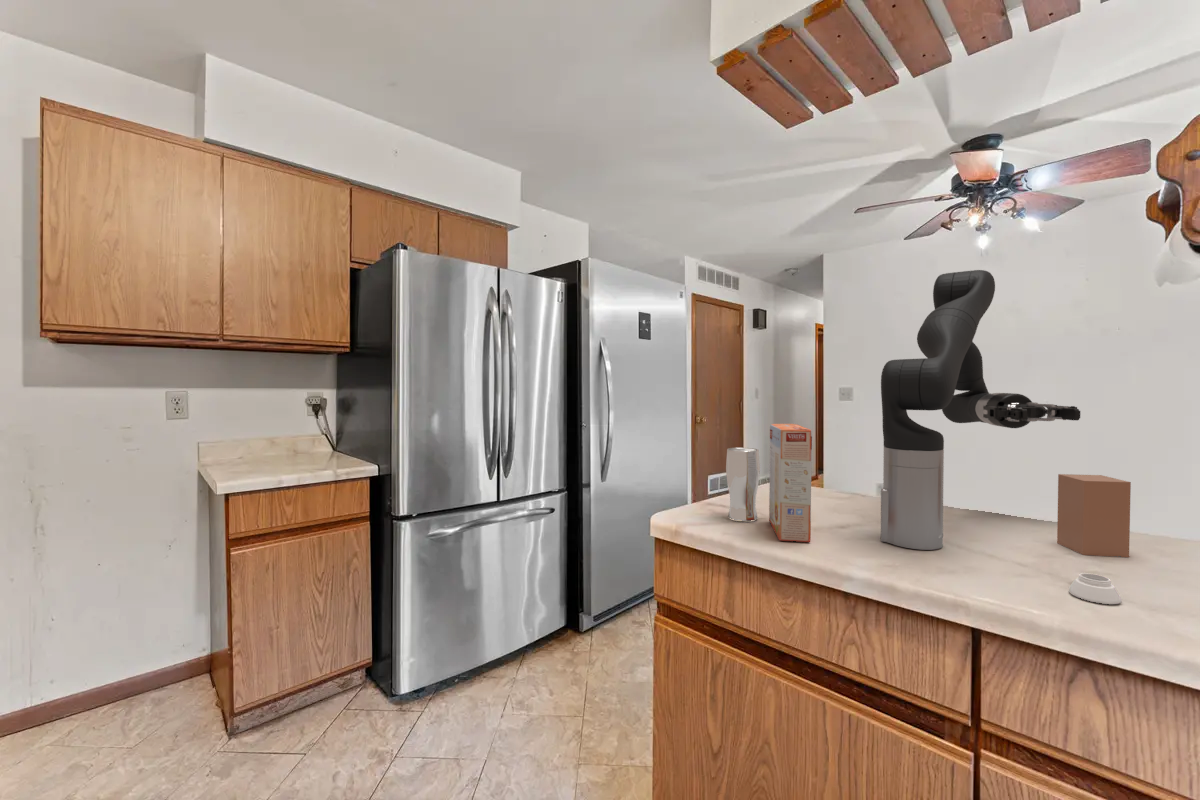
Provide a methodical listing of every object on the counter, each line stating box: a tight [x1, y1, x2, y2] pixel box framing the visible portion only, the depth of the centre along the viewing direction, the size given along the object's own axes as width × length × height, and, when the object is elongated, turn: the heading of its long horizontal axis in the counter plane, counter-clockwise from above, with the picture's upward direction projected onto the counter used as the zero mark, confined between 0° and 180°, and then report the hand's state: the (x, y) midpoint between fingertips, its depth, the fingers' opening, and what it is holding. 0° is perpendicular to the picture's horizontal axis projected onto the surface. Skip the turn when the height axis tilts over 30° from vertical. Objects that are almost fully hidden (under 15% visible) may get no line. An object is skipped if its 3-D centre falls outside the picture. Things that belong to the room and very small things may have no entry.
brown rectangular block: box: [1056, 473, 1132, 558], centre depth 86 cm, size 6×6×12 cm
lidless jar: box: [1068, 572, 1123, 605], centre depth 67 cm, size 5×3×5 cm
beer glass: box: [725, 447, 761, 521], centre depth 108 cm, size 7×7×15 cm
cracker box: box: [768, 423, 813, 543], centre depth 98 cm, size 14×6×21 cm, turn 168°
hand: (1051, 414), depth 96 cm, fingers open, 8 cm apart
